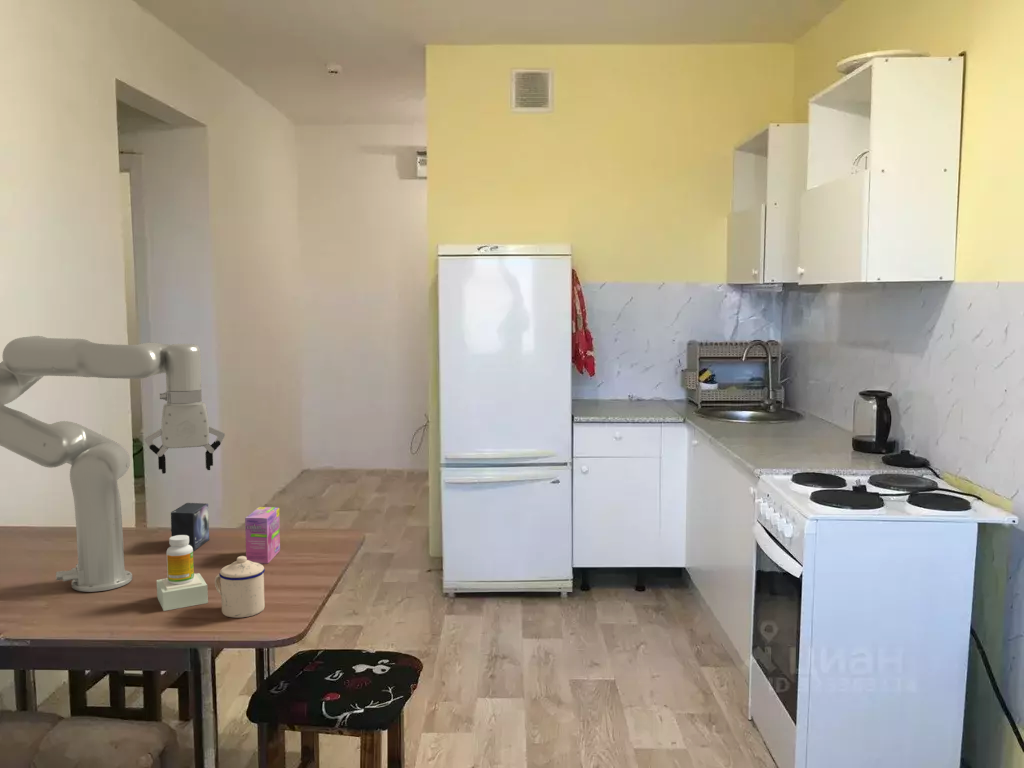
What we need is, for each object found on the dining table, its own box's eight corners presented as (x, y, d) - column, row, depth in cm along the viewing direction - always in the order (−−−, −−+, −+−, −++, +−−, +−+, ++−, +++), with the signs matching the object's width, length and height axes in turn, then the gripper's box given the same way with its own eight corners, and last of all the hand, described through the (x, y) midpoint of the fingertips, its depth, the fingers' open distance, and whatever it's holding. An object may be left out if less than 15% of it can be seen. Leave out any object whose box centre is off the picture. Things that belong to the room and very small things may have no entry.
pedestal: (163, 610, 175) (162, 590, 175) (157, 597, 183) (156, 578, 182) (208, 602, 180) (207, 583, 179) (200, 590, 187) (199, 571, 187)
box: (268, 564, 206) (267, 517, 205) (245, 564, 206) (244, 517, 205) (281, 551, 216) (279, 507, 215) (259, 551, 216) (257, 506, 215)
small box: (195, 551, 216) (193, 512, 214) (170, 551, 216) (168, 512, 215) (210, 539, 226) (209, 502, 225) (187, 539, 226) (185, 502, 225)
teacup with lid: (275, 606, 178) (273, 553, 176) (244, 621, 170) (242, 566, 168) (232, 598, 183) (230, 546, 182) (200, 612, 175) (198, 558, 173)
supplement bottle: (196, 582, 180) (194, 538, 179) (169, 586, 177) (167, 542, 176) (191, 575, 185) (190, 532, 184) (165, 579, 182) (164, 535, 181)
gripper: (143, 401, 183) (146, 477, 185) (225, 398, 191) (227, 471, 193) (142, 397, 190) (144, 470, 192) (221, 394, 198) (223, 464, 200)
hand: (186, 470), depth 192 cm, fingers open, 9 cm apart
